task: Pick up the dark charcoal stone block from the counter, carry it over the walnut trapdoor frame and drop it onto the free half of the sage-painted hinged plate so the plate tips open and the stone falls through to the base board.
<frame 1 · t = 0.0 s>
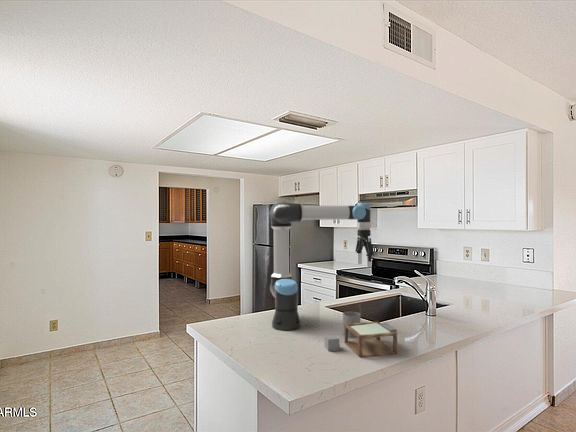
hand: (364, 265, 206), 28 cm above the countertop, fingers open, 13 cm apart
cup: (351, 335, 169), on the countertop
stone: (332, 348, 152), on the countertop
trapdoor: (373, 329, 152), point 8 cm above the countertop, hinge at -2.8°
frame: (369, 348, 152), on the countertop
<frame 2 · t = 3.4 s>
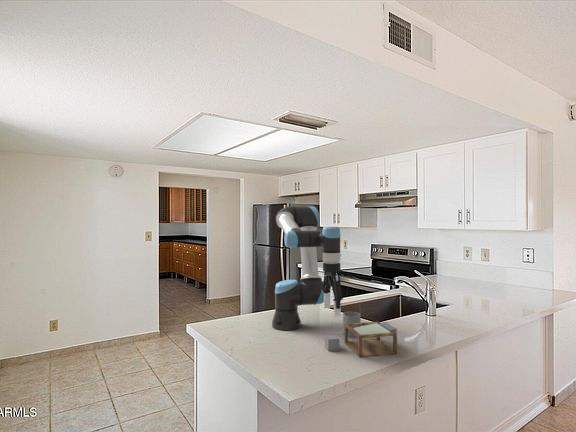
hand: (332, 311, 152), 16 cm above the countertop, fingers open, 13 cm apart
trapdoor: (373, 330, 152), point 7 cm above the countertop, hinge at -7.1°
everything else where it was.
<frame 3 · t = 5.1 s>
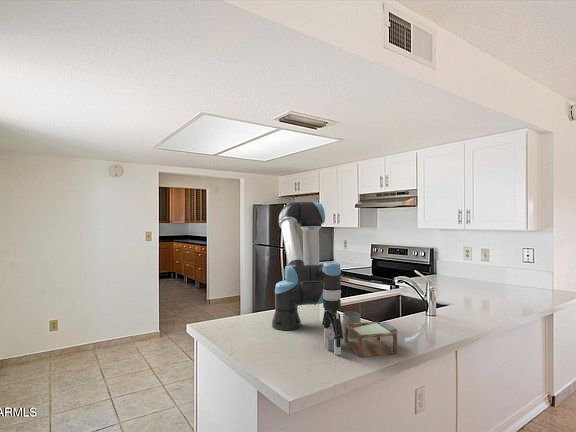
hand: (332, 348, 151), 0 cm above the countertop, fingers open, 13 cm apart
nothing on the countertop moved.
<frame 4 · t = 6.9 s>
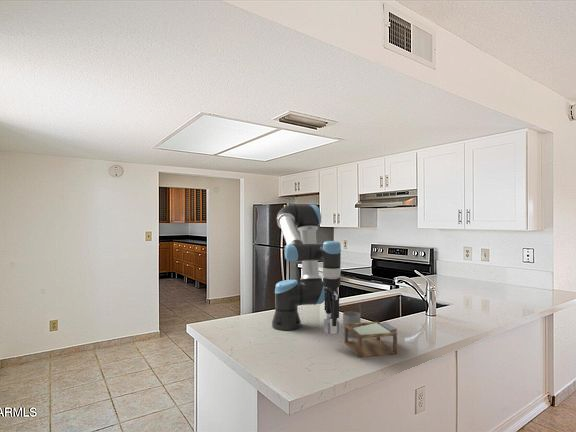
hand: (331, 330, 152), 7 cm above the countertop, fingers closed on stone, 5 cm apart
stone: (331, 331, 152), point 7 cm above the countertop, touching gripper
everything else where it was.
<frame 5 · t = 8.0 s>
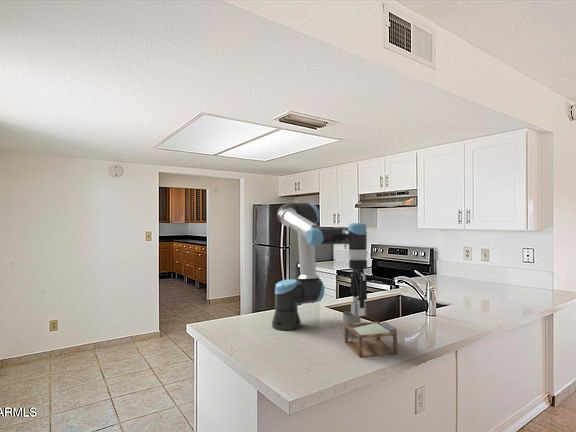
hand: (358, 313, 151), 15 cm above the countertop, fingers closed on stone, 5 cm apart
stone: (358, 314, 151), point 15 cm above the countertop, touching gripper
everything else where it was.
when the fingers open (9 cm above the countertop, at t = 9.3 s): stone drops 6 cm and tips over, resting on trapdoor.
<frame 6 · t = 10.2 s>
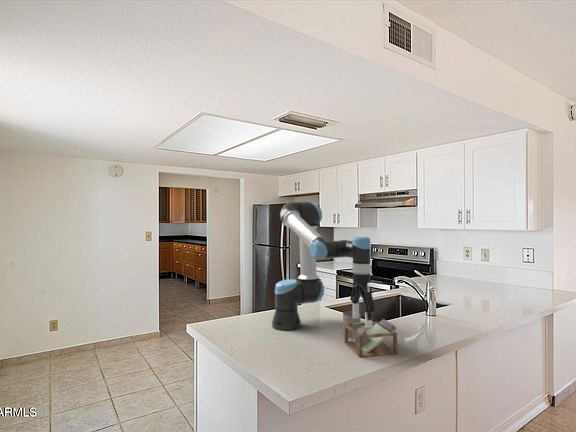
hand: (362, 322, 151), 11 cm above the countertop, fingers open, 13 cm apart
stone: (364, 341, 151), point 3 cm above the countertop, tilted 32°, touching trapdoor
trapdoor: (375, 335, 152), point 5 cm above the countertop, hinge at -32.5°, touching frame, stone
everything else where it was.
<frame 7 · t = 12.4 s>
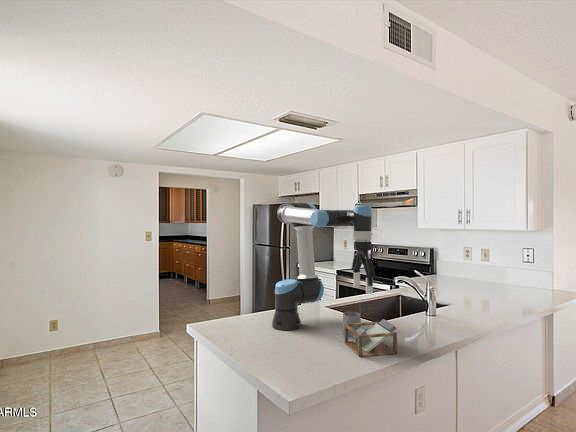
hand: (362, 290, 152), 25 cm above the countertop, fingers open, 13 cm apart
nothing on the countertop moved.
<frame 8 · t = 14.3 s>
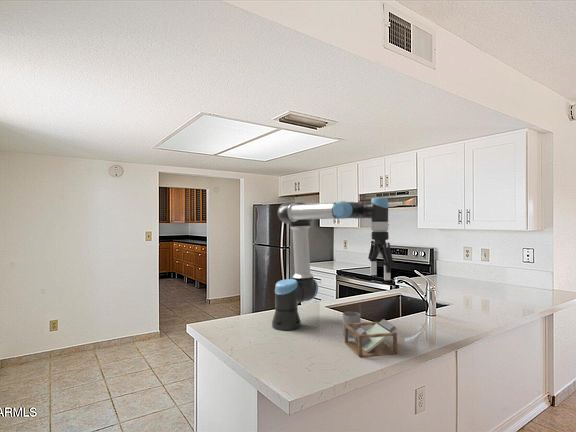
hand: (380, 277, 162), 29 cm above the countertop, fingers open, 13 cm apart
nothing on the countertop moved.
at the end: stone point 2.8 cm above the countertop; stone 2.6 cm from the frame (horizontally); the gripper is holding nothing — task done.
